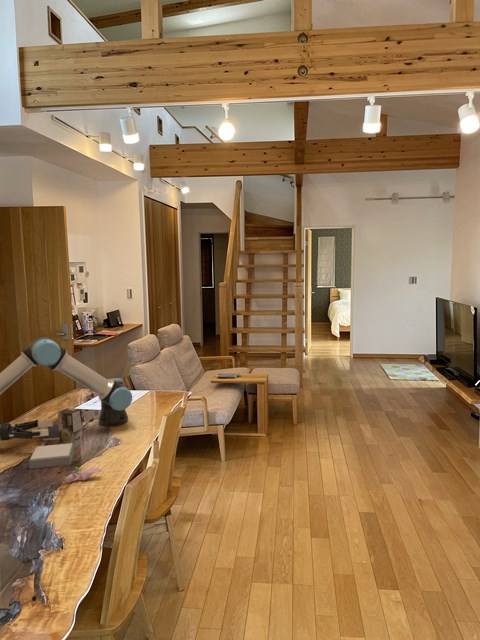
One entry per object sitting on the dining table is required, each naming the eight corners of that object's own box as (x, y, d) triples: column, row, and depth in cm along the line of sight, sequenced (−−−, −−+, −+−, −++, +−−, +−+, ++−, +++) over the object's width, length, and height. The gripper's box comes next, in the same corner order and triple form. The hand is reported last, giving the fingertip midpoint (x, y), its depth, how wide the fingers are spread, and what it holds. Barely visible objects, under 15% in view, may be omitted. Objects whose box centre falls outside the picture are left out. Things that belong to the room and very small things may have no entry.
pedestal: (74, 451, 228) (73, 442, 228) (70, 464, 213) (69, 455, 212) (36, 455, 225) (35, 446, 224) (29, 469, 209) (28, 459, 209)
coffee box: (84, 443, 238) (82, 409, 237) (74, 447, 233) (72, 413, 231) (69, 440, 242) (67, 407, 240) (59, 445, 236) (57, 411, 235)
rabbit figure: (63, 489, 192) (103, 477, 196) (59, 475, 191) (99, 463, 195) (63, 483, 198) (102, 471, 202) (60, 468, 197) (99, 457, 201)
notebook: (49, 428, 264) (42, 441, 244) (49, 425, 264) (42, 438, 243) (75, 425, 267) (70, 439, 246) (74, 423, 267) (70, 436, 246)
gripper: (7, 431, 243) (54, 427, 247) (-6, 449, 218) (46, 444, 223) (6, 416, 242) (53, 412, 246) (-7, 432, 218) (45, 427, 222)
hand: (50, 427), depth 235 cm, fingers open, 13 cm apart
